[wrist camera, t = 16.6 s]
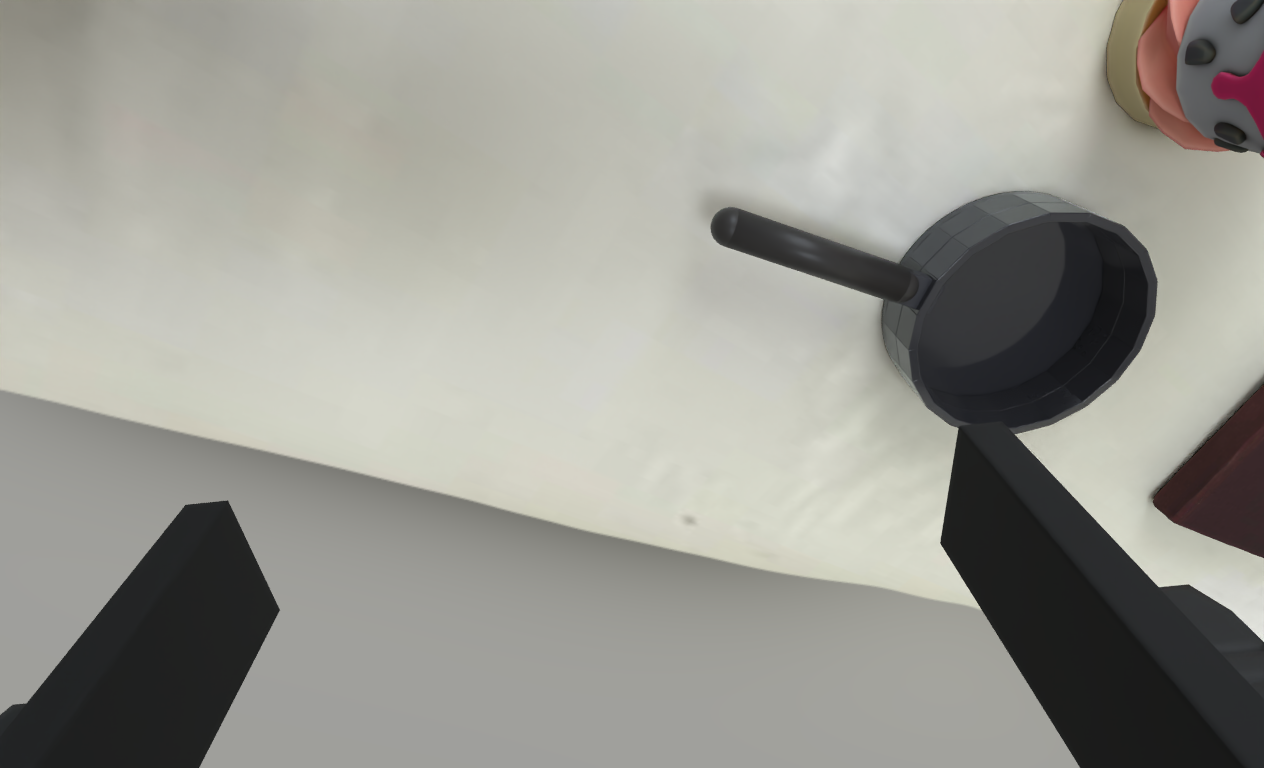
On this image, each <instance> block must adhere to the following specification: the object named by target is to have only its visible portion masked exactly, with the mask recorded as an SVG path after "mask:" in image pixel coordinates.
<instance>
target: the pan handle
mask: <svg viewBox="0 0 1264 768" xmlns="http://www.w3.org/2000/svg"><path fill="white" fill-rule="evenodd" d="M711 233H712V236H713V238H714V239H715V240H716V242H717V243H719V244H720V245H722V246H725V247H728V248H731V249H734V250H737V251H740V252H743V253H746V254H749V255H752V256H755V257H758V258H761V259H764V260H767V261H770V262H773V263H776V264H779V265H782V266H785V267H788V268H791V269H794V270H797V271H800V272H803V273H806V274H809V275H812V276H815V277H818V278H821V279H824V280H827V281H830V282H833V283H836V284H839V285H842V286H845V287H848V288H851V289H854V290H857V291H860V292H863V293H866V294H869V295H872V296H875V297H878V298H881V299H884V300H887V301H890V302H894V303H898V304H901V305H904V306H907V307H910V308H913V309H916V308H917V306H918V305H919V303H920V301H921V299H922V298H923V296H924V294H925V292H926V291H927V289H928V287H929V285H930V284H931V282H932V279H931V278H930V277H929V276H927V275H926V274H924V273H921V272H919V271H916V270H913V269H911V268H909V267H906V266H903V265H900V264H897V263H894V262H892V261H889V260H886V259H883V258H880V257H877V256H874V255H871V254H868V253H865V252H863V251H860V250H857V249H854V248H851V247H848V246H845V245H842V244H839V243H836V242H834V241H831V240H828V239H825V238H822V237H819V236H816V235H813V234H810V233H807V232H805V231H802V230H799V229H796V228H793V227H790V226H787V225H784V224H781V223H778V222H776V221H773V220H770V219H767V218H764V217H761V216H758V215H755V214H752V213H749V212H747V211H744V210H741V209H738V208H734V207H728V208H724V209H722V210H720V211H719V212H717V213H716V215H715V216H714V217H713V219H712V222H711ZM945 287H946V284H944V285H943V287H942V289H941V290H940V292H939V294H938V295H937V297H936V299H935V301H934V302H933V304H932V306H931V307H930V309H929V311H928V312H927V313H928V314H929V313H930V312H931V310H932V309H933V307H934V305H935V304H936V302H937V300H938V299H939V297H940V295H941V293H942V292H943V290H944V288H945Z"/></svg>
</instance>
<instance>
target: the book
mask: <svg viewBox="0 0 1264 768" xmlns="http://www.w3.org/2000/svg"><path fill="white" fill-rule="evenodd" d="M1153 504H1154V506H1155V507H1156V508H1157V509H1158V510H1160V511H1161V512H1162V513H1163V514H1164V515H1166V516H1167V518H1168V519H1170V520H1171V521H1172V522H1173V523H1176V524H1178V525H1180V526H1183V527H1185V528H1188V529H1191V530H1193V531H1196V532H1198V533H1200V534H1203V535H1205V536H1208V537H1210V538H1213V539H1215V540H1218V541H1221V542H1223V543H1226V544H1228V545H1231V546H1234V547H1236V548H1239V549H1242V550H1244V551H1247V552H1249V553H1251V554H1254V555H1257V556H1259V557H1262V558H1264V384H1263V385H1262V386H1261V387H1260V389H1259V390H1258V391H1257V392H1256V393H1255V394H1253V395H1252V396H1251V398H1250V399H1249V400H1248V401H1247V402H1246V403H1245V404H1244V405H1243V406H1242V407H1241V408H1240V409H1239V410H1238V411H1237V412H1236V413H1235V414H1234V415H1233V416H1232V417H1231V418H1230V419H1229V420H1228V421H1227V422H1226V423H1225V424H1224V426H1223V427H1222V428H1221V429H1220V430H1219V431H1218V432H1217V433H1216V434H1215V435H1214V436H1212V437H1211V438H1210V439H1209V440H1208V441H1207V442H1206V443H1205V445H1204V446H1203V447H1202V448H1201V449H1200V450H1199V451H1198V452H1197V453H1196V454H1195V455H1194V456H1193V457H1192V458H1191V459H1190V460H1189V461H1188V462H1187V463H1186V464H1185V465H1184V466H1183V467H1182V468H1181V469H1180V470H1179V471H1178V472H1177V473H1176V474H1175V475H1174V477H1173V478H1172V479H1171V480H1170V481H1169V482H1168V483H1167V484H1166V485H1165V486H1164V487H1163V488H1162V489H1161V490H1160V491H1159V492H1158V493H1157V494H1156V495H1155V497H1154V500H1153Z"/></svg>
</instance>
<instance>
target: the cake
mask: <svg viewBox="0 0 1264 768" xmlns="http://www.w3.org/2000/svg"><path fill="white" fill-rule="evenodd" d="M1107 79H1108V81H1109V84H1110V87H1111V89H1112V92H1113V95H1114V97H1115V100H1116V103H1117V104H1118V105H1119V106H1120V107H1121V108H1122V109H1123V110H1124V111H1125V112H1127V113H1128V114H1129V115H1130V116H1131V117H1132V118H1133V119H1134V120H1136V121H1139V122H1141V123H1144V124H1147V125H1150V126H1153V127H1155V128H1158V129H1160V130H1161V132H1162V133H1163V134H1165V135H1166V136H1168V137H1169V138H1170V139H1172V140H1173V141H1175V142H1176V143H1177V144H1179V145H1180V146H1182V147H1183V148H1184V149H1192V150H1203V151H1215V152H1219V151H1229V150H1232V151H1235V152H1240V153H1242V152H1246V151H1252V152H1256V153H1260V155H1261V156H1262V157H1263V158H1264V0H1123V2H1122V4H1121V6H1120V7H1119V9H1118V11H1117V13H1116V16H1115V19H1114V23H1113V27H1112V30H1111V34H1110V37H1109V41H1108V45H1107Z"/></svg>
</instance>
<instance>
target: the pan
mask: <svg viewBox="0 0 1264 768" xmlns="http://www.w3.org/2000/svg"><path fill="white" fill-rule="evenodd" d="M900 265H903V266H906V267H909V268H911V269H913V270H916V271H919V272H921V273H924V274H926V275H927V276H929V277H930V278H931V279H932V282H931V284H930V285H929V287H928V289H927V291H926V292H925V294H924V296H923V298H922V299H921V301H920V303H919V305H918V306H917V308H916V309H913V308H910V307H907V306H904V305H901V304H898V303H894V302H890V301H887V300H884V305H883V312H882V330H883V338H884V342H885V346H886V349H887V351H888V353H889V356H890V358H891V360H892V361H893V363H894V364H895V366H896V367H897V369H898V370H899V372H900V374H901V375H902V377H903V378H904V379H905V381H906V382H907V383H908V384H909V386H910V387H911V388H912V389H913V390H914V392H915V393H916V394H917V396H918V397H919V398H920V399H921V401H922V402H923V403H924V404H925V406H926V407H927V408H928V409H929V410H931V411H932V412H933V413H935V414H936V415H937V416H939V417H940V418H941V419H943V420H944V421H945V422H947V423H948V424H949V425H951V426H954V427H958V428H959V426H961V425H971V424H981V423H991V422H1000V421H1002V422H1003V423H1004V424H1005V425H1006V426H1007V427H1008V428H1009V429H1010V430H1011V431H1012V433H1013V434H1018V433H1022V432H1026V431H1030V430H1034V429H1037V428H1041V427H1045V426H1049V425H1051V424H1054V423H1056V422H1058V421H1060V420H1062V419H1064V418H1066V417H1068V416H1069V415H1071V414H1073V413H1075V412H1077V411H1079V410H1081V409H1083V408H1085V407H1086V406H1088V405H1089V404H1090V403H1091V402H1093V401H1094V400H1095V399H1096V398H1097V397H1099V396H1100V395H1101V394H1102V393H1103V392H1105V391H1106V390H1107V389H1108V388H1109V387H1111V386H1112V385H1113V384H1114V383H1115V382H1116V381H1117V380H1118V379H1119V378H1120V377H1121V375H1122V374H1123V373H1124V371H1125V370H1126V369H1127V367H1128V366H1129V365H1130V363H1131V362H1132V361H1133V360H1134V358H1135V357H1136V356H1137V354H1138V353H1139V352H1140V350H1141V348H1142V346H1143V343H1144V341H1145V339H1146V336H1147V334H1148V331H1149V329H1150V327H1151V324H1152V322H1153V319H1154V317H1155V310H1156V296H1157V283H1158V281H1157V277H1156V274H1155V271H1154V268H1153V265H1152V262H1151V259H1150V256H1149V253H1148V251H1147V249H1146V248H1145V247H1144V246H1143V245H1142V244H1141V243H1140V242H1139V241H1138V240H1137V238H1136V237H1135V236H1134V235H1133V234H1132V233H1131V232H1130V231H1129V230H1128V229H1127V228H1126V227H1125V226H1123V225H1121V224H1119V223H1117V222H1115V221H1112V220H1110V219H1108V218H1106V217H1103V216H1101V215H1099V214H1097V213H1094V212H1092V211H1090V210H1088V209H1085V208H1083V207H1081V206H1078V205H1076V204H1073V203H1071V202H1068V201H1066V200H1063V199H1061V198H1059V197H1055V196H1053V195H1050V194H1045V193H1039V192H1031V191H1015V192H1007V193H1000V194H996V195H992V196H988V197H984V198H981V199H979V200H976V201H974V202H971V203H968V204H966V205H964V206H963V207H961V208H959V209H957V210H955V211H953V212H951V213H950V214H948V215H947V216H945V217H944V218H942V219H941V220H939V221H938V222H937V223H936V224H934V225H933V226H932V227H931V228H930V229H928V230H927V231H926V232H925V233H924V234H923V235H922V236H921V237H920V238H919V239H918V240H917V241H916V242H915V243H914V244H913V246H912V247H911V248H910V250H909V251H908V252H907V253H906V255H905V256H904V257H903V259H902V261H901V262H900ZM944 284H946V287H945V288H944V290H943V292H942V293H941V295H940V297H939V299H938V300H937V302H936V304H935V305H934V307H933V309H932V310H931V312H930V313H929V314H928V313H927V312H928V311H929V309H930V307H931V306H932V304H933V302H934V301H935V299H936V297H937V295H938V294H939V292H940V290H941V289H942V287H943V285H944Z"/></svg>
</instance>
